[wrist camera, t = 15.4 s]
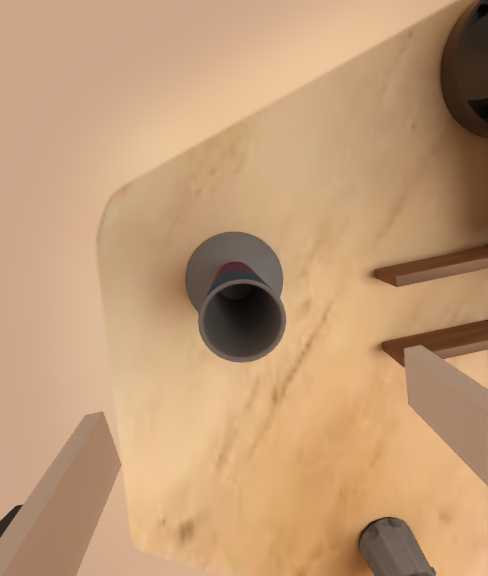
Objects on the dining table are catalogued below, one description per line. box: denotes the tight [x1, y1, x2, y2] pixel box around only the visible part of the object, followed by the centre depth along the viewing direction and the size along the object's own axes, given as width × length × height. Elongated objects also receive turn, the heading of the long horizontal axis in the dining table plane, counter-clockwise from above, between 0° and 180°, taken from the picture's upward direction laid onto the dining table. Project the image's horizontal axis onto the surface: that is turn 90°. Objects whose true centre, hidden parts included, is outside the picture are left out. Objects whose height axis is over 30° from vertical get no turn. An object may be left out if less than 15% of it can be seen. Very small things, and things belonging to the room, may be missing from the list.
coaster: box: [186, 232, 283, 312], centre depth 39 cm, size 12×12×1 cm
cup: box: [198, 262, 286, 362], centre depth 32 cm, size 7×7×15 cm
